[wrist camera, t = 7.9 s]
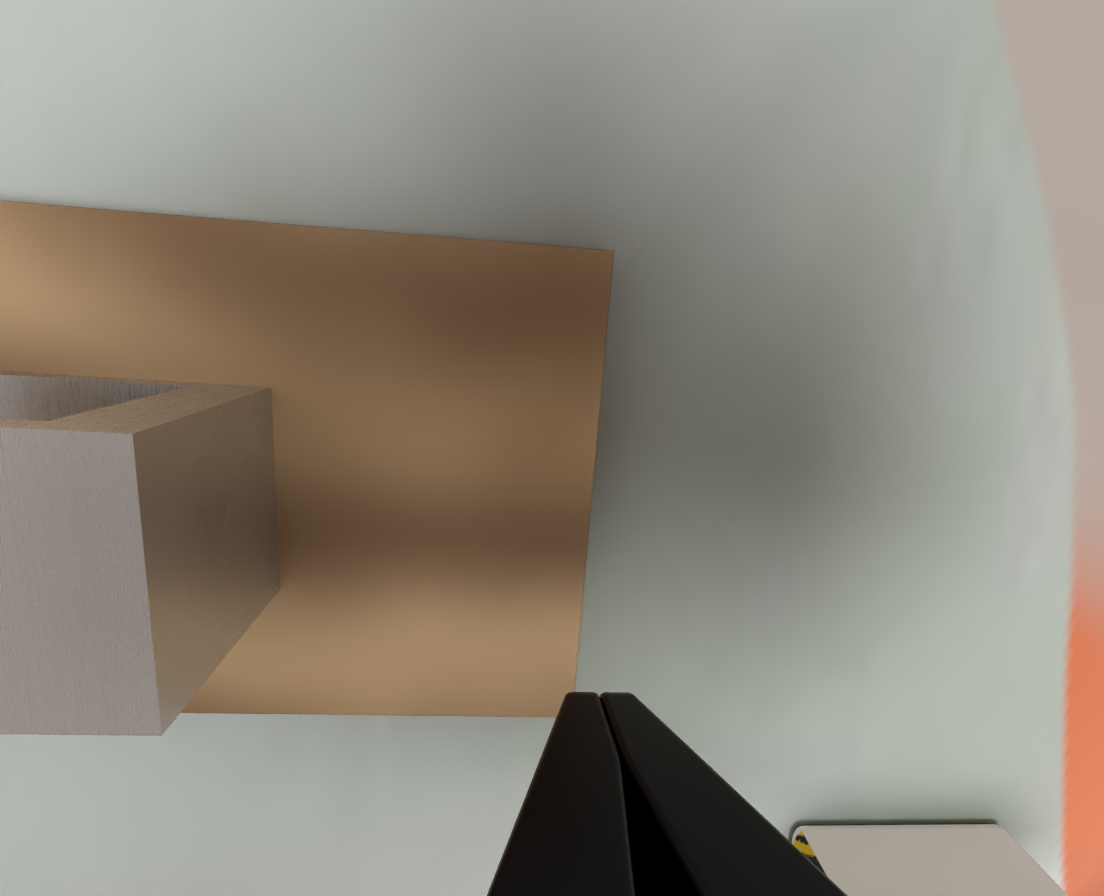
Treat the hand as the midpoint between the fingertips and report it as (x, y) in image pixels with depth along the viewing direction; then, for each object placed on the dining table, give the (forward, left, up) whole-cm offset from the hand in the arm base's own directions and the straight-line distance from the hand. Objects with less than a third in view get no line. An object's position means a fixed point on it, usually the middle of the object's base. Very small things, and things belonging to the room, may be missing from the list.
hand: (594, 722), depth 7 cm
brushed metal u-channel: (0, +7, -5) cm, 8 cm away
